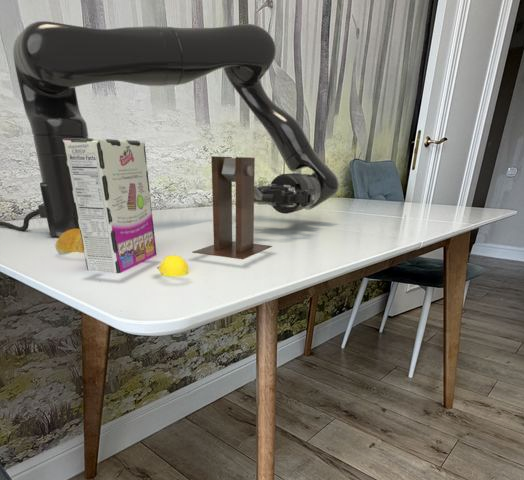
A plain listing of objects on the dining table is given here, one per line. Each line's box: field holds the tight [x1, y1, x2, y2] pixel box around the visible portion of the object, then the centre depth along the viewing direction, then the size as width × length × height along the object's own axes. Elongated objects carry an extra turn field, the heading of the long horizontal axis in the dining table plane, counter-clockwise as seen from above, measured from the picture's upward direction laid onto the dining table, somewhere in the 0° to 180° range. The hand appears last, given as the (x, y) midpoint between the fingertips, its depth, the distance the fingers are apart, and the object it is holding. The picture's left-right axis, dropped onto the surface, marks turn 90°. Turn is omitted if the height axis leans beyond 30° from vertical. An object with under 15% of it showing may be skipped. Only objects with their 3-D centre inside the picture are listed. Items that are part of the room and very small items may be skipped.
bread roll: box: [54, 229, 84, 255], centre depth 63 cm, size 8×9×4 cm
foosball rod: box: [222, 157, 275, 204], centre depth 64 cm, size 13×5×2 cm, turn 155°
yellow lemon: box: [156, 254, 189, 278], centre depth 51 cm, size 3×6×4 cm, turn 44°
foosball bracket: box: [191, 156, 273, 260], centre depth 62 cm, size 11×9×15 cm
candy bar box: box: [63, 137, 157, 274], centre depth 52 cm, size 11×5×16 cm, turn 168°
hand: (260, 198), depth 69 cm, fingers open, 8 cm apart
